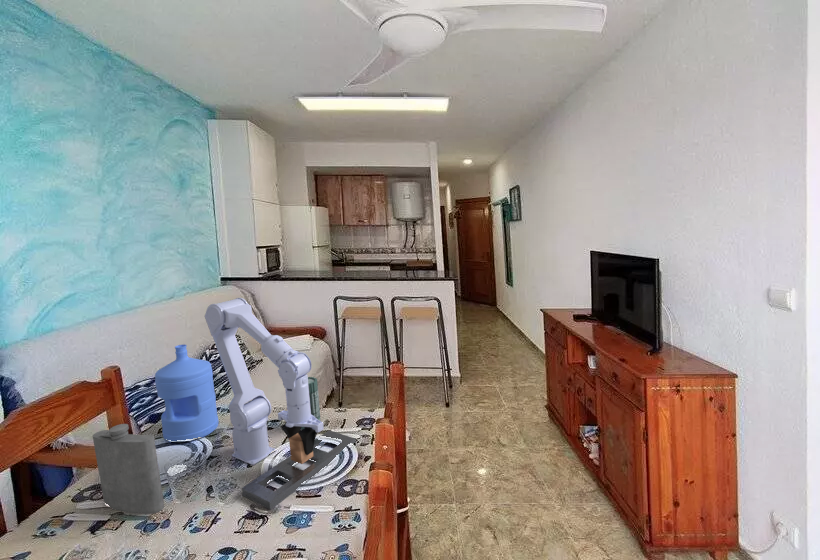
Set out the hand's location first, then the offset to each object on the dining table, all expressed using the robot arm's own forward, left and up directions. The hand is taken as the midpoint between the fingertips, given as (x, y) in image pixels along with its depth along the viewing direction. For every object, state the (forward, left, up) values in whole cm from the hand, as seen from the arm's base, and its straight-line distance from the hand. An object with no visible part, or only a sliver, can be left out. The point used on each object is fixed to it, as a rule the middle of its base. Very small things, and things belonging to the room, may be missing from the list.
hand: (302, 450), depth 106 cm
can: (-15, +17, -5) cm, 23 cm away
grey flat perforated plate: (0, 0, -5) cm, 5 cm away
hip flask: (-25, -30, -5) cm, 39 cm away
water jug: (-47, -3, -5) cm, 47 cm away
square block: (0, 0, -2) cm, 2 cm away
